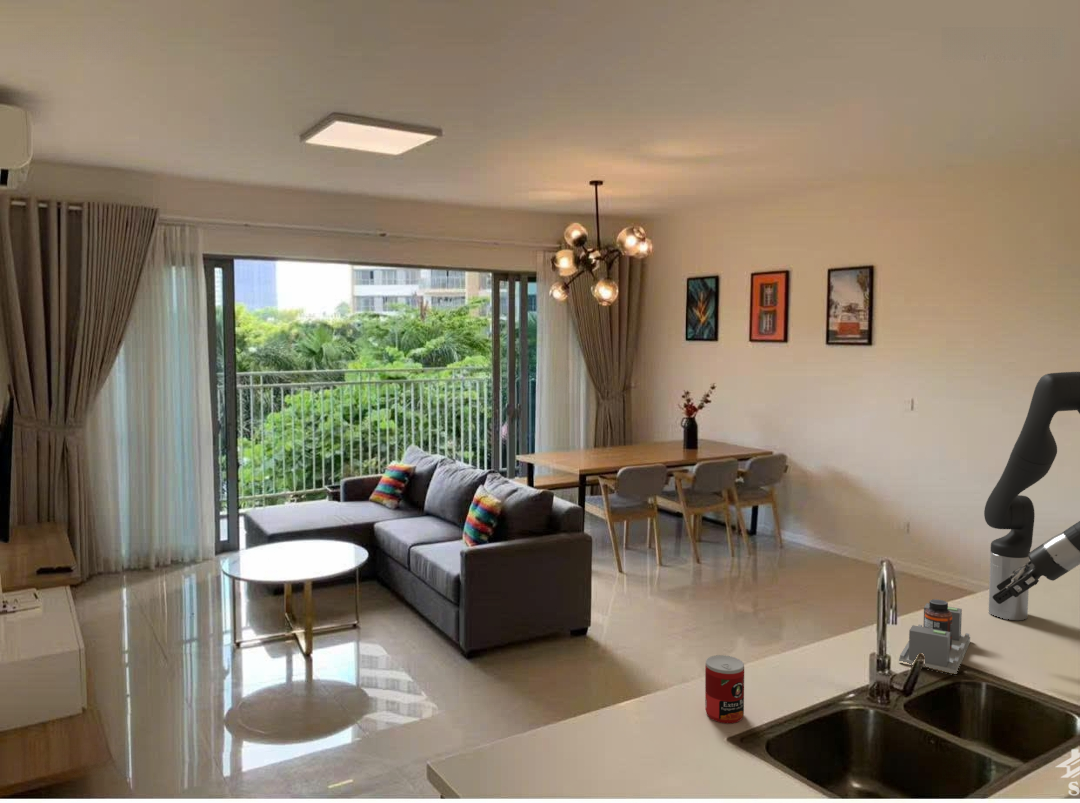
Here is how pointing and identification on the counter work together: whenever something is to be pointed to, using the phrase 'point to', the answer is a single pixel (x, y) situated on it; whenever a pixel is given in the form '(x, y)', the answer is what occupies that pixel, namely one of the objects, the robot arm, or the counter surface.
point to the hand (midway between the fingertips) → (997, 595)
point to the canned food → (724, 688)
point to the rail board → (937, 644)
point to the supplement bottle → (939, 617)
